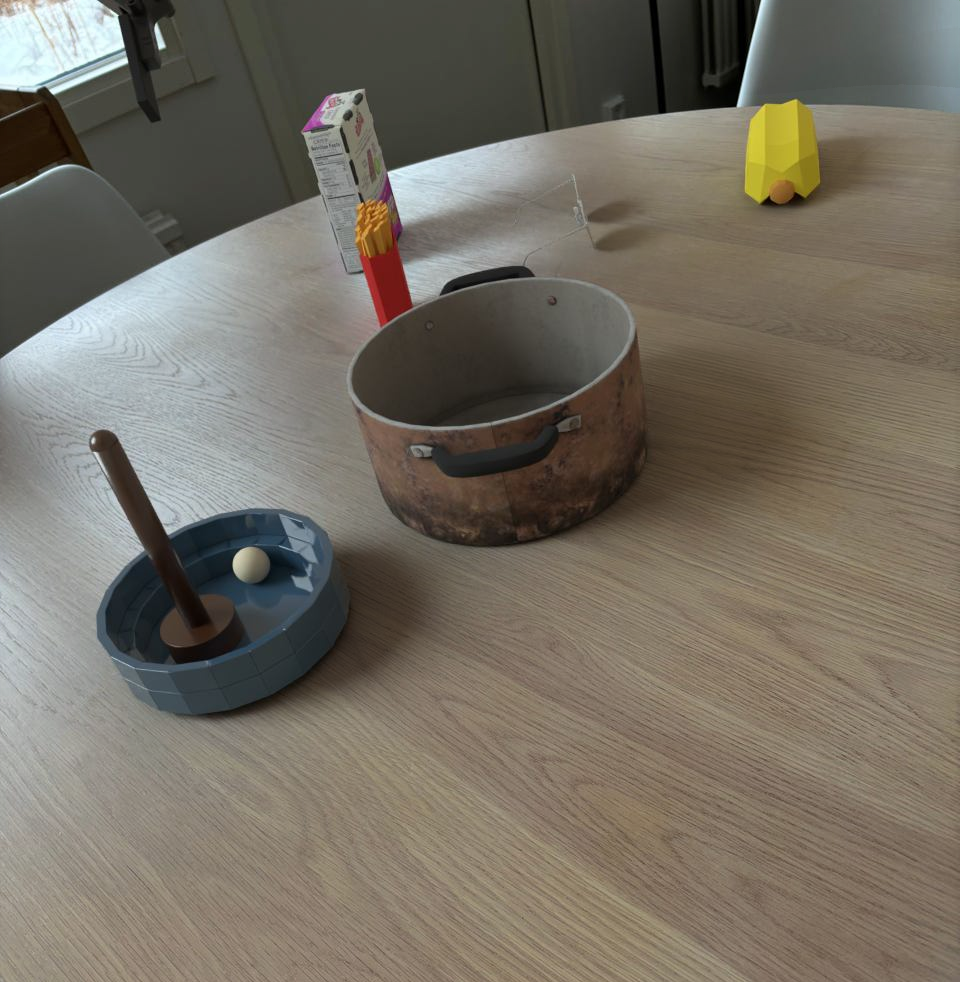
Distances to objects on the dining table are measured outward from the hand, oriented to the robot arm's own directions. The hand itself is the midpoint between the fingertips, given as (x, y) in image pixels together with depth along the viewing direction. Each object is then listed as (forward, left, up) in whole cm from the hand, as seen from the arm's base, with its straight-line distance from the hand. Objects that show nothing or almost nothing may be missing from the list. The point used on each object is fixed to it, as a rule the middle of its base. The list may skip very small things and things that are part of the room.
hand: (59, 136), depth 75 cm
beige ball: (+2, -19, -27) cm, 34 cm away
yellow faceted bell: (+68, +20, -30) cm, 77 cm away
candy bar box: (+24, +37, -30) cm, 54 cm away
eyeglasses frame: (+43, +24, -30) cm, 57 cm away
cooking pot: (+24, -15, -30) cm, 41 cm away
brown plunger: (-3, -24, -29) cm, 38 cm away
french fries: (+22, +17, -30) cm, 41 cm away
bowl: (-1, -24, -30) cm, 38 cm away
